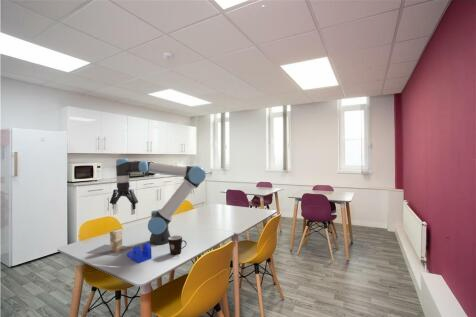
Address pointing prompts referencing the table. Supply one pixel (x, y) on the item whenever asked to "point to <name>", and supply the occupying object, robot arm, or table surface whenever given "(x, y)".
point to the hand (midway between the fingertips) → (124, 214)
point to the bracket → (140, 253)
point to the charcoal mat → (108, 250)
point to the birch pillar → (115, 240)
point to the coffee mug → (175, 244)
